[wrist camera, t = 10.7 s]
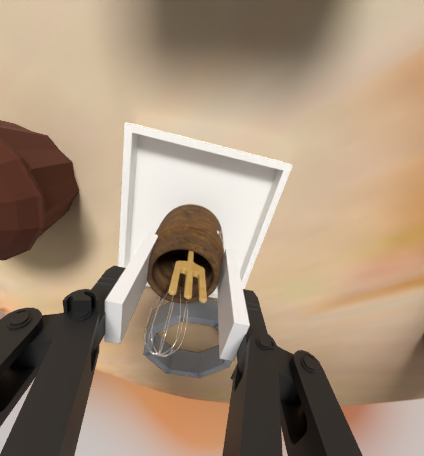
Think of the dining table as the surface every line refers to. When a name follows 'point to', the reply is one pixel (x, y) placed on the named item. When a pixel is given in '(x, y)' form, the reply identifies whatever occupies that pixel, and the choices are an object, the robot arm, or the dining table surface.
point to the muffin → (30, 187)
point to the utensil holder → (185, 260)
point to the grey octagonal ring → (180, 359)
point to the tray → (197, 190)
